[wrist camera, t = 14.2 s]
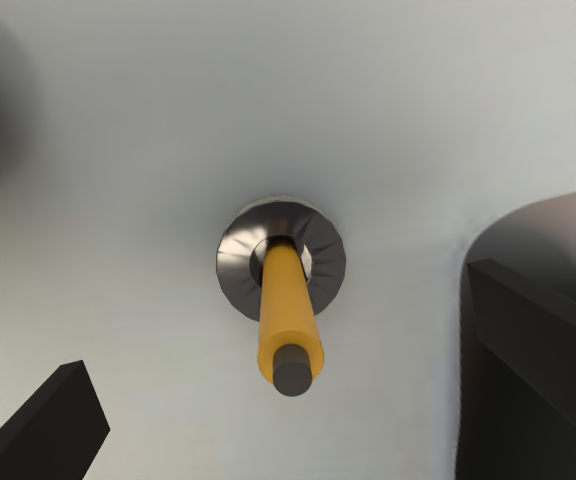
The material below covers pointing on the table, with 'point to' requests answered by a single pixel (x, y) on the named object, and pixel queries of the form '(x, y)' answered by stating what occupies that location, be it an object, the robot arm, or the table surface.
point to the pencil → (287, 323)
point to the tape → (271, 226)
